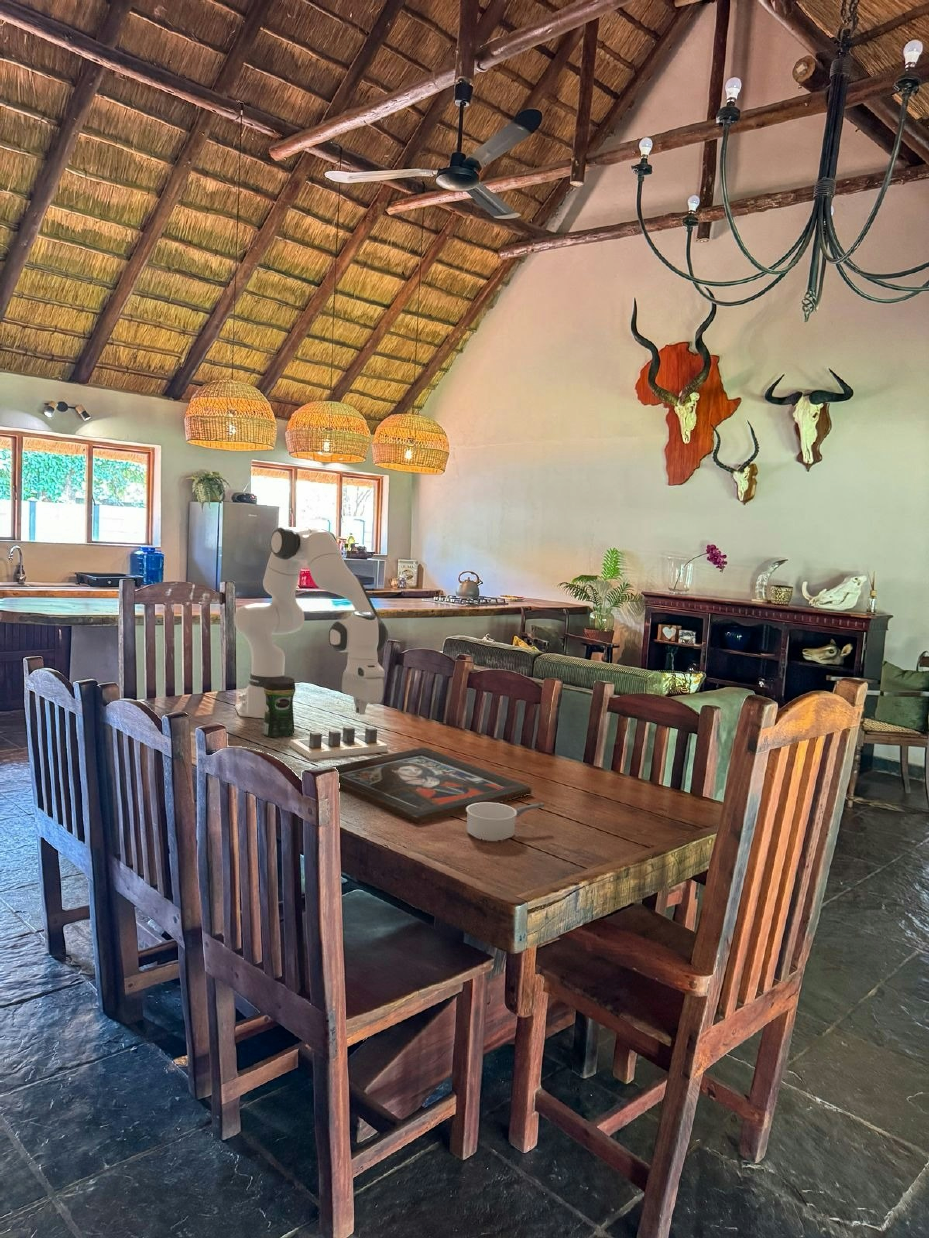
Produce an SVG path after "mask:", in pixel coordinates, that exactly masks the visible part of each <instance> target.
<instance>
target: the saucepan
mask: <svg viewBox="0 0 929 1238" xmlns="http://www.w3.org/2000/svg"><path fill="white" fill-rule="evenodd" d="M544 807H545V803H543V802H539V803H538V802H537V803H535V804H533V803H532V804H529V805H523V806H520V807H518V808H514V807H512V806H509V805H507V804H503V803H490V802H482V803H474V804H471V805H469V806H468V807H467V808H466V811H467V812H466V813H467V814H466V815H467V816H466V817H467V818H466V832H467V833H468V834H469V835H471V836H473V837H474V838H475V839H477V840H481V839H482V840H481V841H485V840H486V842H496V841H495V840H501V841H504V840H503V839H505V840H506V838H507V839H510V838H512V837H513V836H514V834H515V826H516V825H515V824H516V818H519V817H520V816H521V815H522V814H523V813H524V812H526V811H529V810H530V811H531V810H534V809H535V810H536V809H539V808H544Z"/></svg>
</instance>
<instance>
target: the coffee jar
mask: <svg viewBox="0 0 929 1238" xmlns="http://www.w3.org/2000/svg"><path fill="white" fill-rule="evenodd" d="M264 692H265V695H266V707H265V715H264V718H263V722H262V734H263V735H264V736H265V737H270V738H284V737H291V736H293V735H294V734H295V720H294V717H295V716H294V707H293V706H294V695H295V693H296V683H295V679H294V677H291V676H285V677H269V678H266V680H265V685H264Z"/></svg>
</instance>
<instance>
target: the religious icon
mask: <svg viewBox="0 0 929 1238" xmlns="http://www.w3.org/2000/svg"><path fill="white" fill-rule="evenodd" d="M331 767H336V769H337V770H338V772H339V783H340V789H339V790H341V791H343V792H345V793H346V794H349V795H351V796H353V797H356V798H358V799H360V800H362V801H364V802H367V803H369V804H371V805H374V806H375V807H379V808H380V809H384V810H386V811H388V812H390V813H393V814H395V815H396V816H398V817H401V818H403V819H405V820H408V821H410V822H411V823H415V824H416V825H419V824H425V823H428V822H431V821H436V820H440V819H444V818H448V817H452V816H455V815H459V814H463V813H468V812H467V811H466V808H467V807H468V806H469V805H471V804H474V803H482V802H490V803H498V802H501V801H506V802H508V801H507V800H510V799H513V800H515V799H514V798H516V797H521V796H524V795H526V794H530V795H531V794H532V791H533V787H531V786H528V785H525V784H524V783H520V782H518V781H515V780H512V779H510V778H506V777H504V776H502V775H498V774H495V773H493V772H490V771H488V770H485V769H482V768H479V767H477V766H476V765H475V766H474V765H472V764H469V763H466V762H464V761H461V760H458V759H456V758H454V757H450V756H449V755H445V754H443V753H441V752H438V751H435V750H433V749H430V748H428V747H418V748H413V749H409V750H405V751H399V752H396V753H395V752H394V753H389V754H384V755H380V756H376V757H372V758H368V759H363V760H356V761H353V762H347V763H343V764H339V765H332V766H331ZM524 797H525V796H524ZM521 798H522V797H521ZM510 801H511V800H510Z"/></svg>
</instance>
